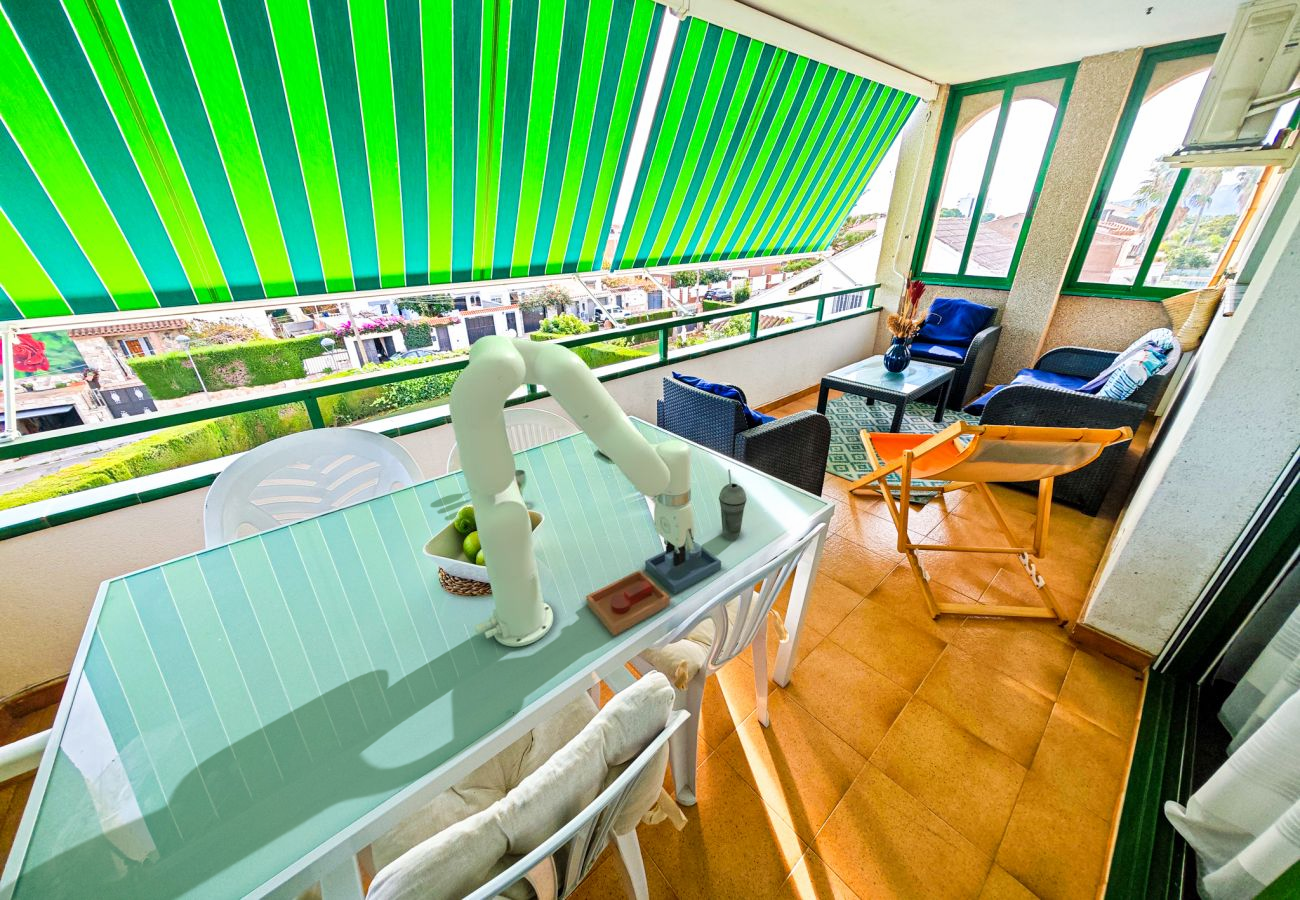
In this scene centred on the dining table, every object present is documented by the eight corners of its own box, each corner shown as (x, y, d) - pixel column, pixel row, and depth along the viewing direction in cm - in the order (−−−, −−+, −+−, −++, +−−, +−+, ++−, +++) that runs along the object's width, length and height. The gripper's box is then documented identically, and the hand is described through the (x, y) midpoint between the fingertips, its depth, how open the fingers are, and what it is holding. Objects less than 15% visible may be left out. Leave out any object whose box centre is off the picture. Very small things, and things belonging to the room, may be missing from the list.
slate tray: (674, 594, 105) (674, 586, 104) (645, 568, 114) (645, 560, 113) (720, 569, 113) (721, 560, 112) (690, 546, 121) (690, 539, 120)
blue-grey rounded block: (673, 571, 108) (673, 561, 107) (662, 561, 111) (661, 552, 110) (704, 554, 113) (704, 544, 112) (693, 545, 116) (693, 536, 115)
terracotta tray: (613, 636, 95) (612, 627, 94) (587, 604, 103) (586, 595, 102) (669, 605, 102) (669, 596, 101) (640, 577, 111) (639, 569, 110)
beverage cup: (744, 543, 122) (748, 477, 113) (716, 541, 123) (718, 475, 115) (744, 528, 128) (748, 464, 120) (718, 526, 130) (720, 462, 121)
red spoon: (643, 587, 107) (643, 577, 106) (654, 597, 104) (654, 587, 103) (607, 605, 102) (606, 596, 101) (617, 617, 99) (616, 607, 97)
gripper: (640, 486, 107) (644, 550, 115) (683, 515, 95) (684, 584, 103) (665, 476, 111) (668, 539, 118) (710, 503, 99) (709, 571, 106)
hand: (675, 560), depth 110 cm, fingers closed on blue-grey rounded block, 2 cm apart
